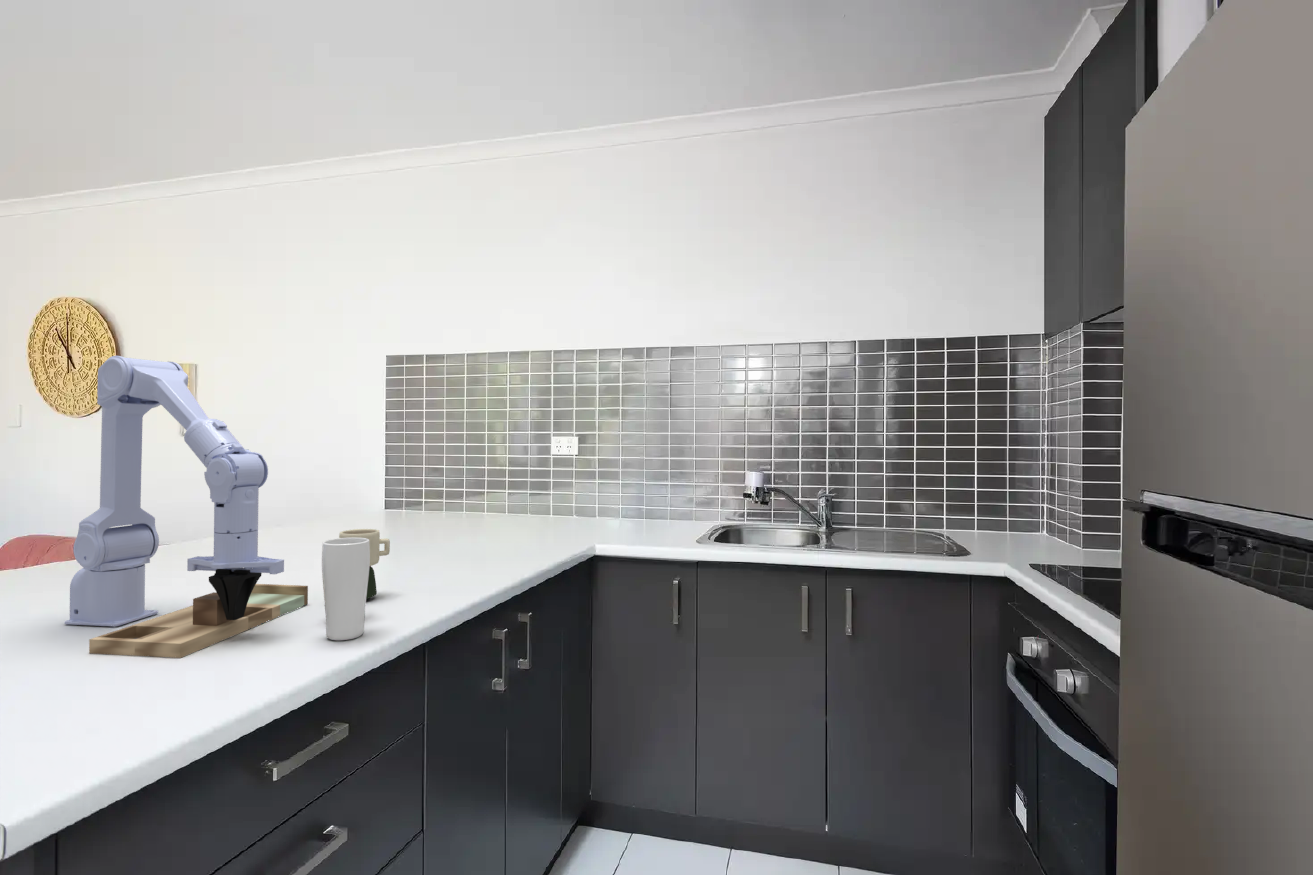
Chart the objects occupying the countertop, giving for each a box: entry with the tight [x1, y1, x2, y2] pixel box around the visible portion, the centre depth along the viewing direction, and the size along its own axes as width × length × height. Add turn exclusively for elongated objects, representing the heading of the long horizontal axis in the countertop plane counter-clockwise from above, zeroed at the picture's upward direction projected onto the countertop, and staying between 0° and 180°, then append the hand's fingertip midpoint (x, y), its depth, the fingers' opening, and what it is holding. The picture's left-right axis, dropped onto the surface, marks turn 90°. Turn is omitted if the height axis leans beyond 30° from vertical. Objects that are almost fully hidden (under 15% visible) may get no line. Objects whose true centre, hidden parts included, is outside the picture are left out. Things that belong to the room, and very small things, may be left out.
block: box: [192, 591, 231, 626], centre depth 99 cm, size 4×4×4 cm
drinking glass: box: [321, 537, 370, 642], centre depth 99 cm, size 7×7×15 cm
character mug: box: [338, 528, 391, 600], centre depth 121 cm, size 11×7×13 cm, turn 126°
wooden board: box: [88, 583, 309, 659], centre depth 104 cm, size 14×28×4 cm, turn 175°
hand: (235, 618), depth 98 cm, fingers closed
